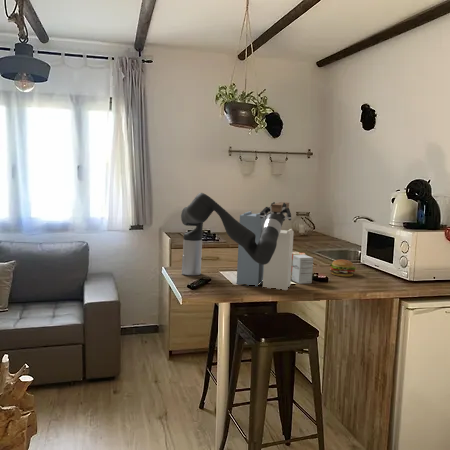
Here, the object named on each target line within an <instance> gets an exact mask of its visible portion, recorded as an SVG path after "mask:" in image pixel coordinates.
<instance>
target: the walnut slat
mask: <svg viewBox="0 0 450 450" xmlns="http://www.w3.org/2000/svg"><path fill="white" fill-rule="evenodd" d="M283 203H285V204H286V205H287V208H289V209H290V202H288V201H287V202H285V201H284V202H283V201H280V202H275V204H272V203H271V204H272V208H271V211H273V212H279V211H281V209H282V207H283ZM287 208H286V209H287Z"/></svg>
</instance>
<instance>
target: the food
mask: <svg viewBox="0 0 450 450" xmlns="http://www.w3.org/2000/svg"><path fill="white" fill-rule="evenodd" d="M357 269H358V267H356V266H355V265H354V263H353V262H352V261H350V260H347V259H341V258H339V259H336V260H333V261H332V263H330V264H329V272H330V273H331V274H332V275H333V276H337V277H343V278H344V277H345V278H346V277H347V278H348V277H353V276H354V273H355V272H356V270H357Z"/></svg>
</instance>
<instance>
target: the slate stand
mask: <svg viewBox="0 0 450 450" xmlns="http://www.w3.org/2000/svg"><path fill="white" fill-rule="evenodd" d="M264 221H265V218H264V217H263V218H260V212H258V213H253V212H252V211H251V210H249V211H246V212H244V213H242V214H240V215H239V223H240V224H242V225H243V226H245V227H246V228H247V229H249V230H250V231H252V232H253V233H254V234H255V236H256V237H255V242H256V244H258V242H259V240H260V235H261V232H262V227H263V224H264ZM237 244H238V243H237ZM237 247H238V249H237V266H236V267H237V268H236V285H240V284H247V285H246V286H249V285H255V286H254V287H259V286H258V284H259V283H260V282H261V281H262V280H263V272H264V265H263V264H259V263H257V262H255V261H254V260H253V259H252V258H251V256H250V255H249V254H248V253H247V252H246V250H245V249H244V248H243V247H242V246H241V245H239V244H238V245H237ZM262 282H263V281H262ZM262 282H261V283H262ZM261 283H260V284H261Z"/></svg>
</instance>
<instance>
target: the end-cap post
mask: <svg viewBox="0 0 450 450" xmlns="http://www.w3.org/2000/svg"><path fill="white" fill-rule="evenodd" d="M294 233H295V232H294V230H293V228H290V229H288V230H286V229H281V231H280V234H279V236H278V239H277V245H276V249H275V251H274V253H273V255H272V257H271V260H270V261H269V263H267V264H264V272H263V281H262V288H263V287H267V288H266V289H271V288H276V289H275V290H280V289H282V290H281V291H287V290H289V288H290V286H291V281H292V277H291V266H292V252H293V249H294ZM288 287H289V288H288Z"/></svg>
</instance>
